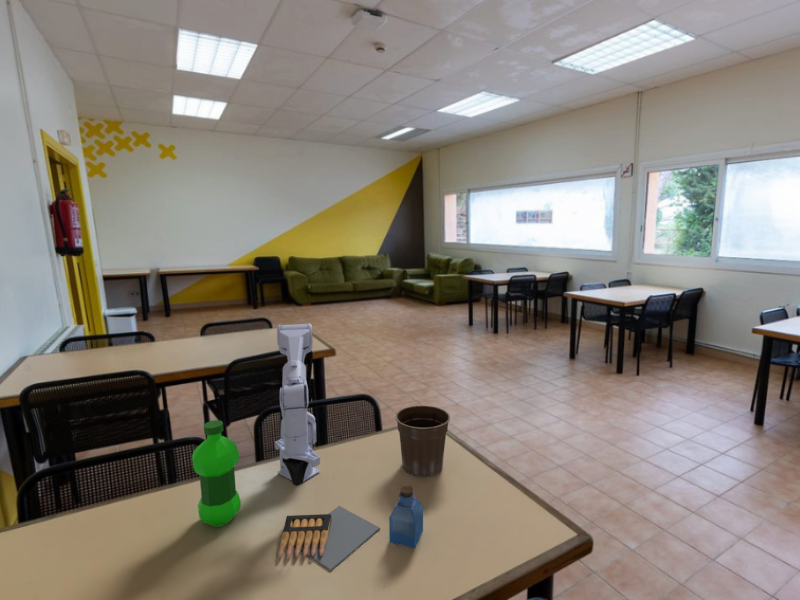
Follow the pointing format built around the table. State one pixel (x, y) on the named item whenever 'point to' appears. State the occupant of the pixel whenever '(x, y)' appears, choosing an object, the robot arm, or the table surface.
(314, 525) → the ammunition clip
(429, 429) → the plant pot
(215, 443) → the plastic bottle
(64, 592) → the table surface
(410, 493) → the perfume bottle
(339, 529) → the rubber mat
